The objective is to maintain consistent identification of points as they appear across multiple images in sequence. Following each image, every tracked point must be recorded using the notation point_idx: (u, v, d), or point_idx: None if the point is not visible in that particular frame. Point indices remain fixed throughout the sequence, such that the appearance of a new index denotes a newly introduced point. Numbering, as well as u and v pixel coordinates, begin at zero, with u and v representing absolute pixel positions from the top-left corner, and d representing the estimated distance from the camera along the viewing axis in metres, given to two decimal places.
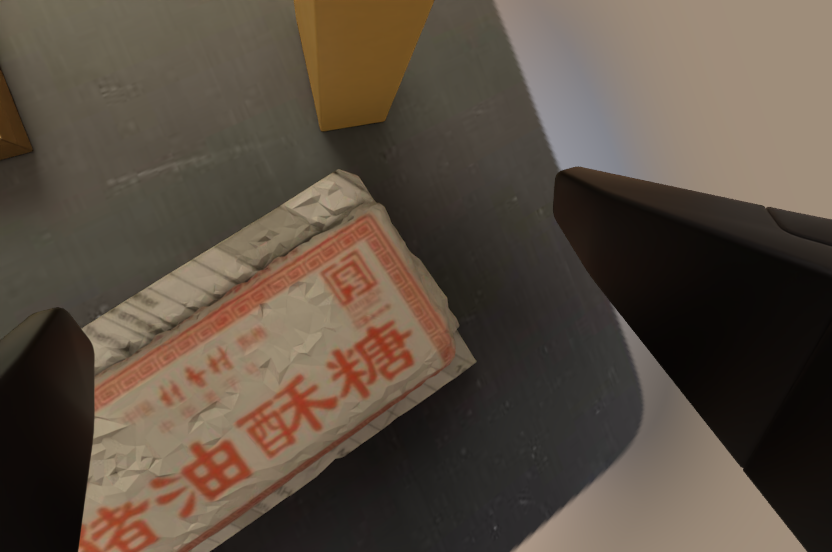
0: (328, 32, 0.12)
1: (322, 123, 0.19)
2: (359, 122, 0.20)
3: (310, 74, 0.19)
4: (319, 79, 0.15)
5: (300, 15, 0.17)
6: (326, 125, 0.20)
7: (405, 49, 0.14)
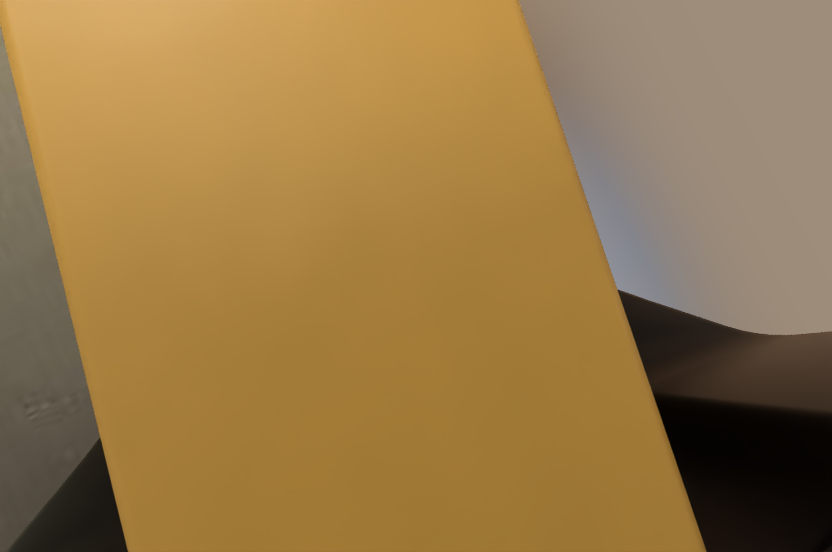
0: None
1: None
2: None
3: None
4: None
5: None
6: None
7: None
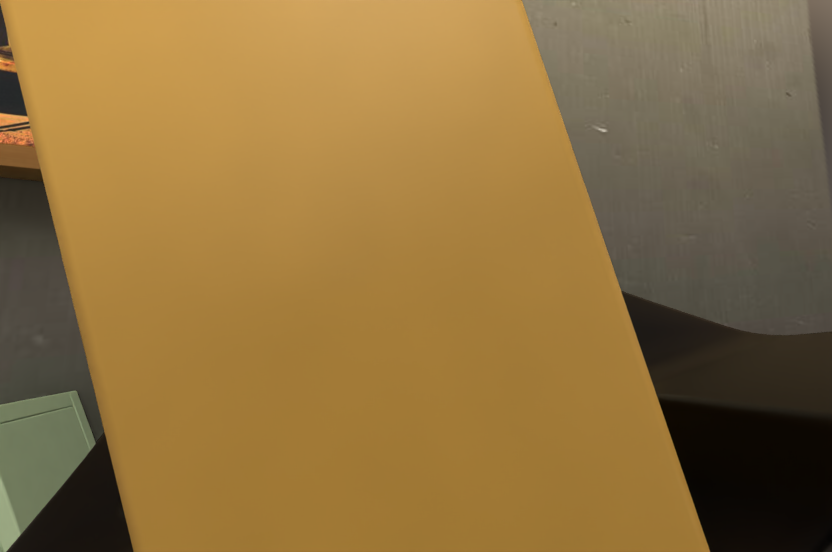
0: None
1: None
2: None
3: None
4: None
5: None
6: None
7: None
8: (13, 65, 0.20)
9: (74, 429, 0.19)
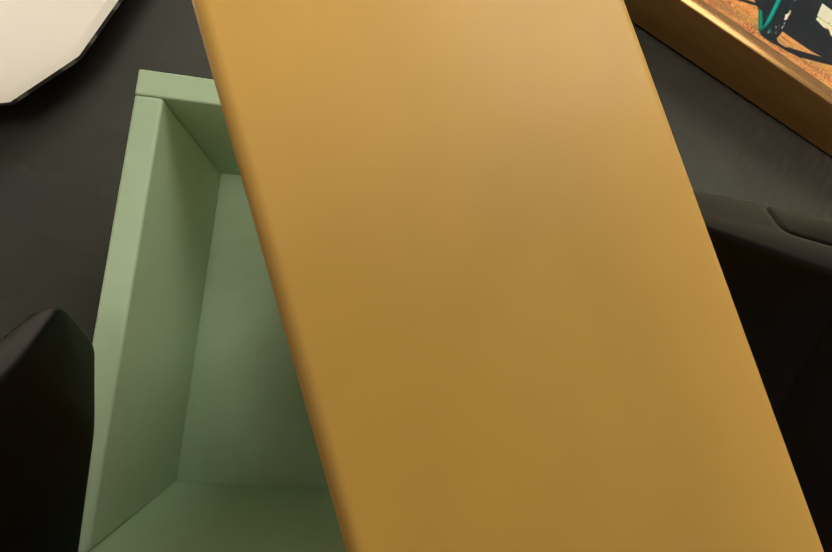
0: None
1: None
2: None
3: None
4: None
5: None
6: None
7: None
8: None
9: None
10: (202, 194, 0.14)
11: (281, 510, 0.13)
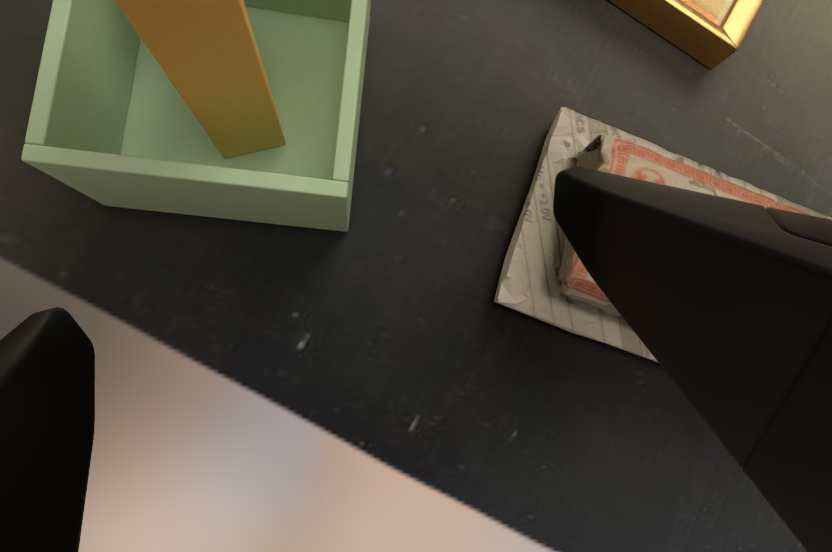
0: (150, 32, 0.13)
1: (218, 148, 0.21)
2: (258, 146, 0.22)
3: None
4: (178, 91, 0.16)
5: None
6: (224, 150, 0.21)
7: (244, 51, 0.15)
8: None
9: (367, 36, 0.23)
10: None
11: None
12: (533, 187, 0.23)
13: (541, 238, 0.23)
